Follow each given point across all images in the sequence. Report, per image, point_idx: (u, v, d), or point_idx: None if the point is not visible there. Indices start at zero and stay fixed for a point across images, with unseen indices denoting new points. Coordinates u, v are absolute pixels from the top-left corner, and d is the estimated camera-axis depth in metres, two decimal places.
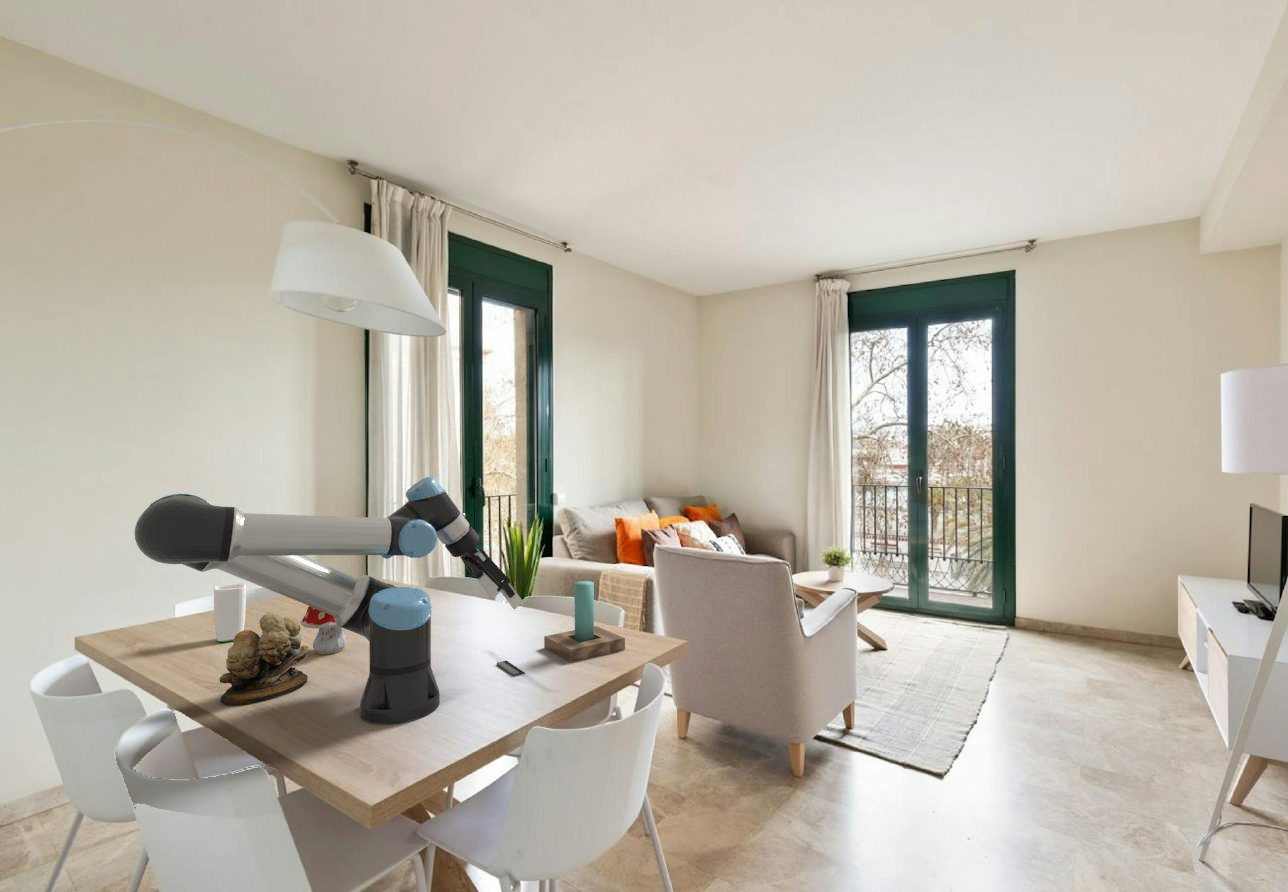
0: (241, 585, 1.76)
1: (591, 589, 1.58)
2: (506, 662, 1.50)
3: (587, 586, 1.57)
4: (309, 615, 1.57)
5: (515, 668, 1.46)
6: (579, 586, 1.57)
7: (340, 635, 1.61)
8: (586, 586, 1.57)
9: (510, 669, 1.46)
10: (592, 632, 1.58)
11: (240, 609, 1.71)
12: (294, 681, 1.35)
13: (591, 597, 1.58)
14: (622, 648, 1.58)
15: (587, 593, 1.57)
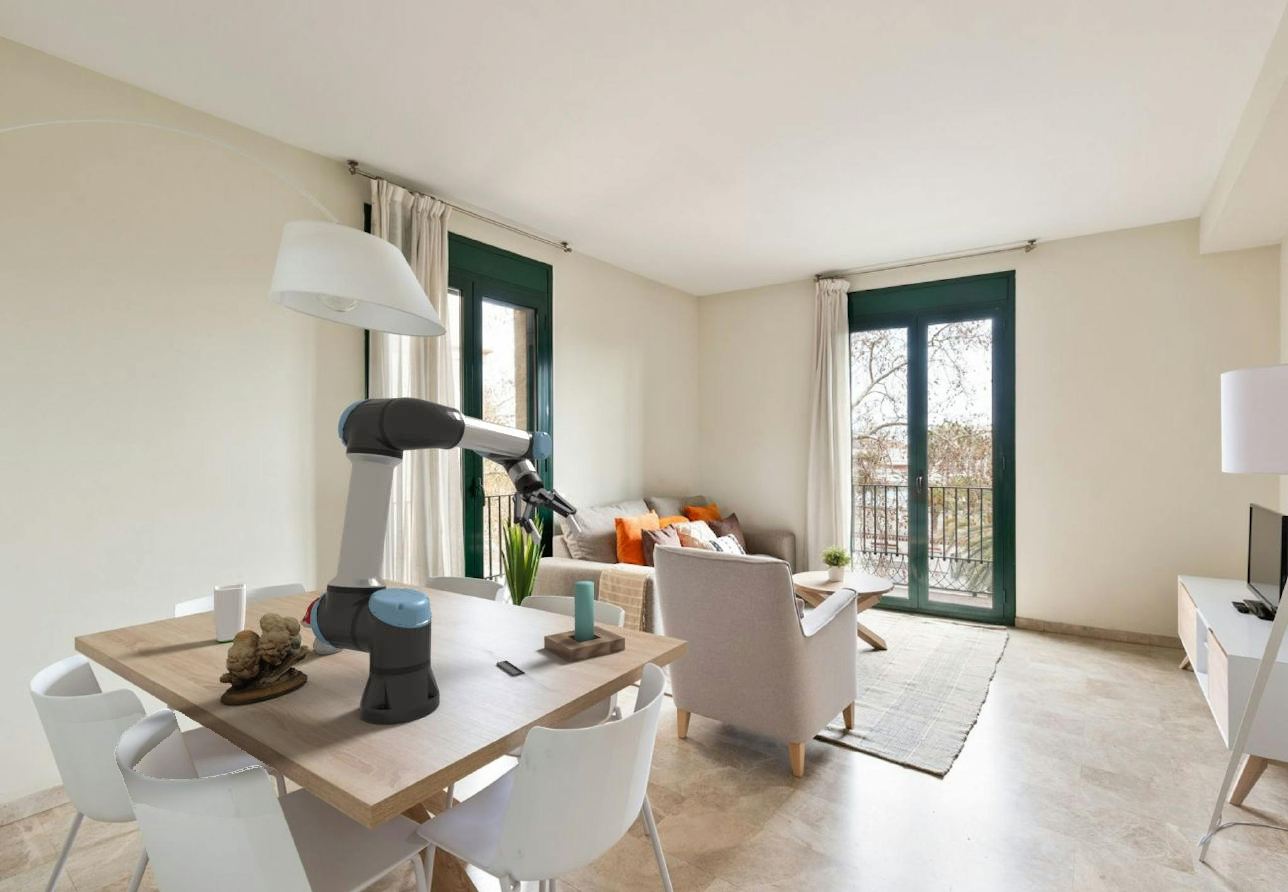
0: (241, 585, 1.76)
1: (591, 589, 1.58)
2: (506, 662, 1.50)
3: (587, 586, 1.57)
4: (309, 615, 1.57)
5: (515, 668, 1.46)
6: (579, 586, 1.57)
7: None
8: (586, 586, 1.57)
9: (510, 669, 1.46)
10: (592, 632, 1.58)
11: (240, 609, 1.71)
12: (294, 681, 1.35)
13: (591, 597, 1.58)
14: (622, 648, 1.58)
15: (587, 593, 1.57)
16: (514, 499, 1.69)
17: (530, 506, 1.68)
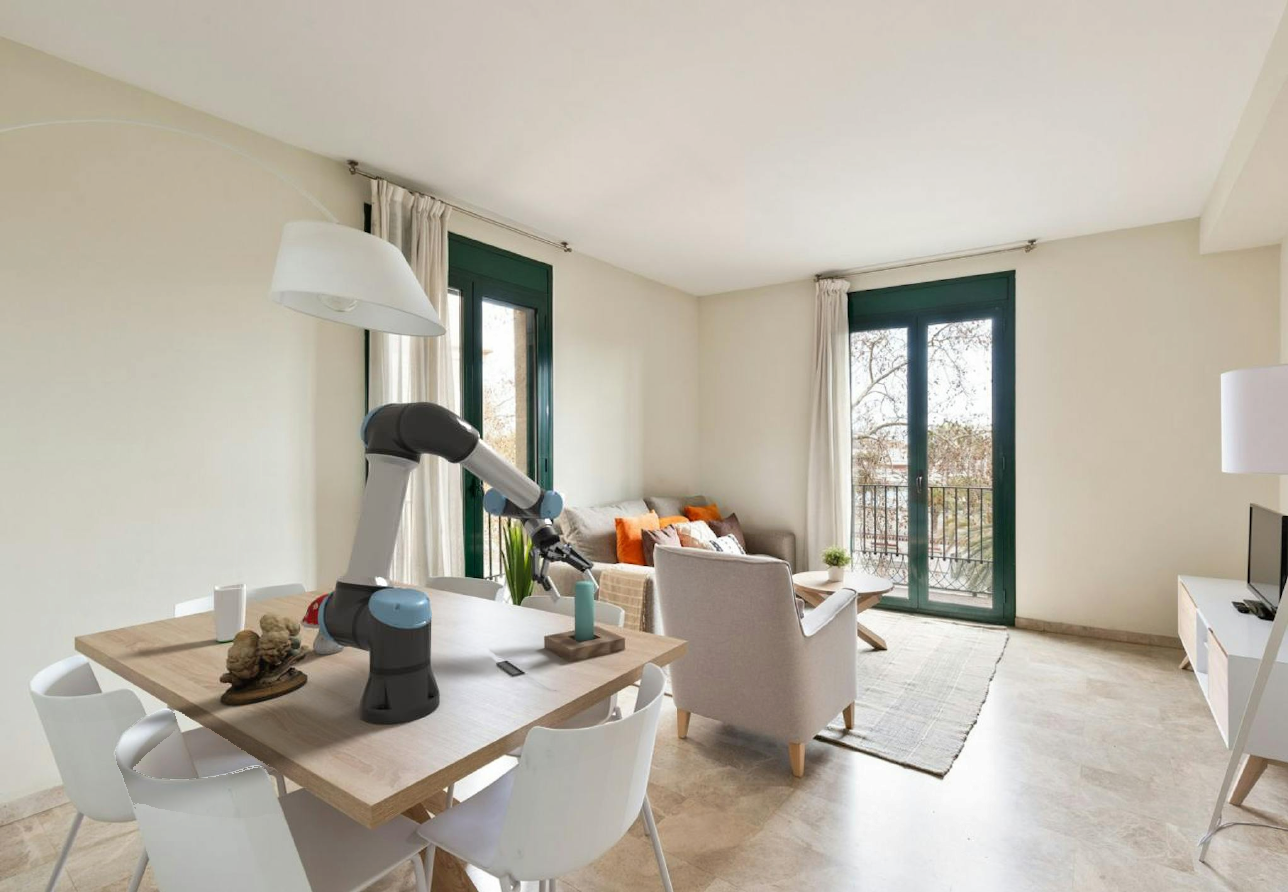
0: (241, 585, 1.76)
1: (591, 589, 1.58)
2: (506, 662, 1.50)
3: (587, 586, 1.57)
4: (309, 615, 1.57)
5: (515, 668, 1.46)
6: (579, 586, 1.57)
7: None
8: (586, 586, 1.57)
9: (510, 669, 1.46)
10: (592, 632, 1.58)
11: (240, 609, 1.71)
12: (294, 681, 1.35)
13: (591, 597, 1.58)
14: (622, 648, 1.58)
15: (587, 593, 1.57)
16: (531, 554, 1.66)
17: (548, 562, 1.65)
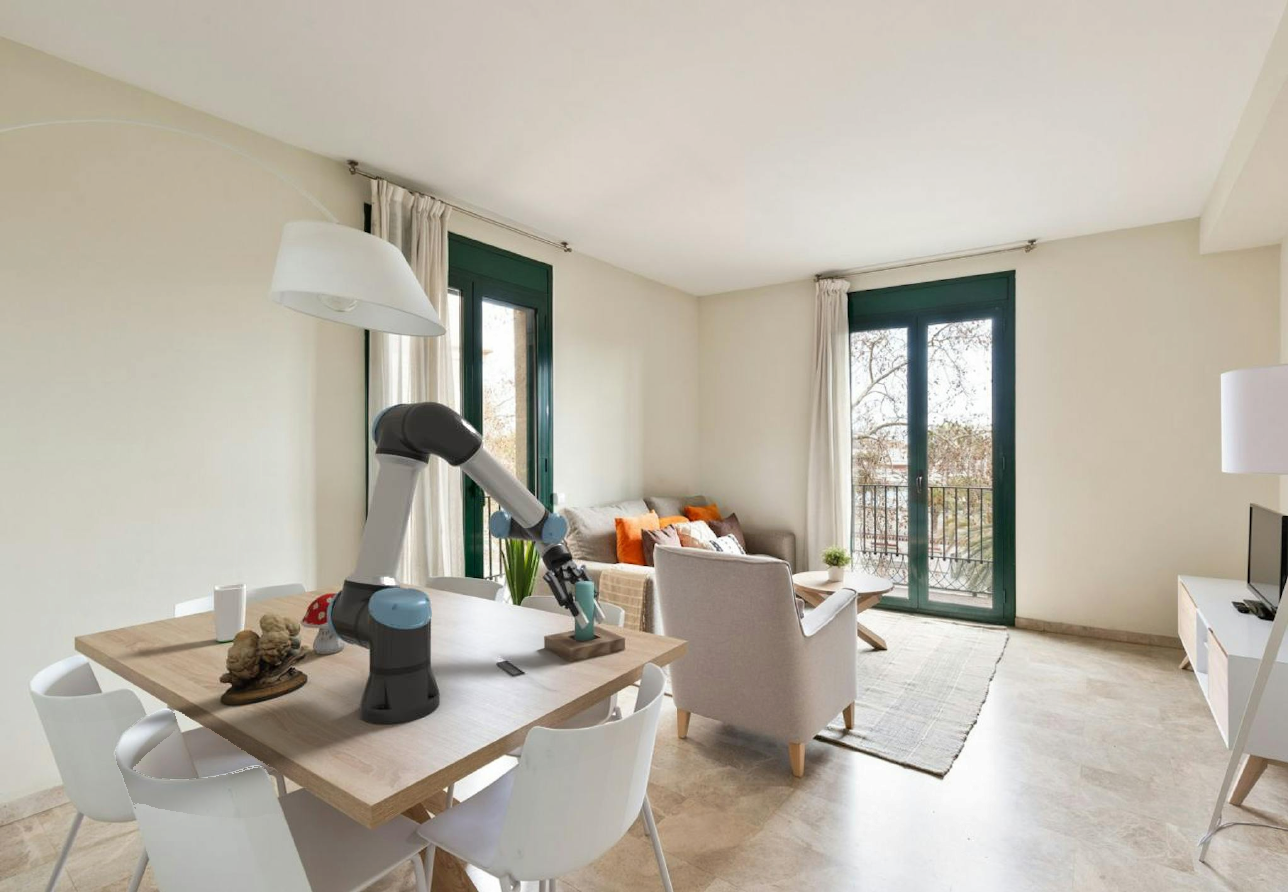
0: (241, 585, 1.76)
1: (591, 589, 1.58)
2: (506, 662, 1.50)
3: (587, 586, 1.57)
4: (309, 615, 1.57)
5: (515, 668, 1.46)
6: (579, 586, 1.57)
7: None
8: (586, 586, 1.57)
9: (510, 669, 1.46)
10: (592, 632, 1.58)
11: (240, 609, 1.71)
12: (294, 681, 1.35)
13: (591, 597, 1.58)
14: (622, 648, 1.58)
15: (587, 593, 1.57)
16: (547, 579, 1.60)
17: (567, 584, 1.60)
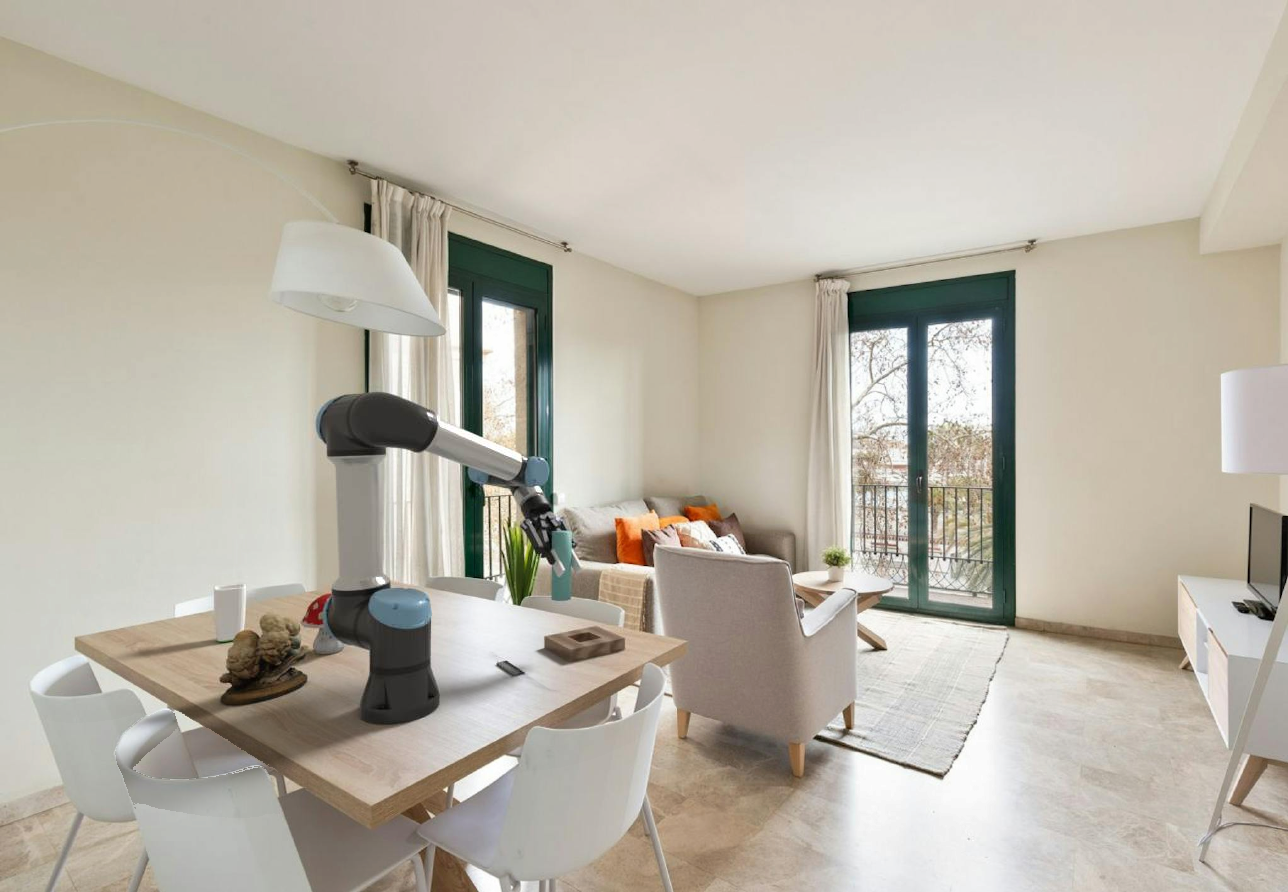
0: (241, 585, 1.76)
1: (569, 537, 1.55)
2: (506, 662, 1.50)
3: (564, 534, 1.54)
4: (309, 615, 1.57)
5: (515, 668, 1.46)
6: (556, 534, 1.54)
7: None
8: (563, 534, 1.54)
9: (510, 669, 1.46)
10: (569, 581, 1.55)
11: (240, 609, 1.71)
12: (294, 681, 1.35)
13: (568, 546, 1.55)
14: (622, 648, 1.58)
15: (564, 541, 1.54)
16: (524, 527, 1.57)
17: (545, 533, 1.57)
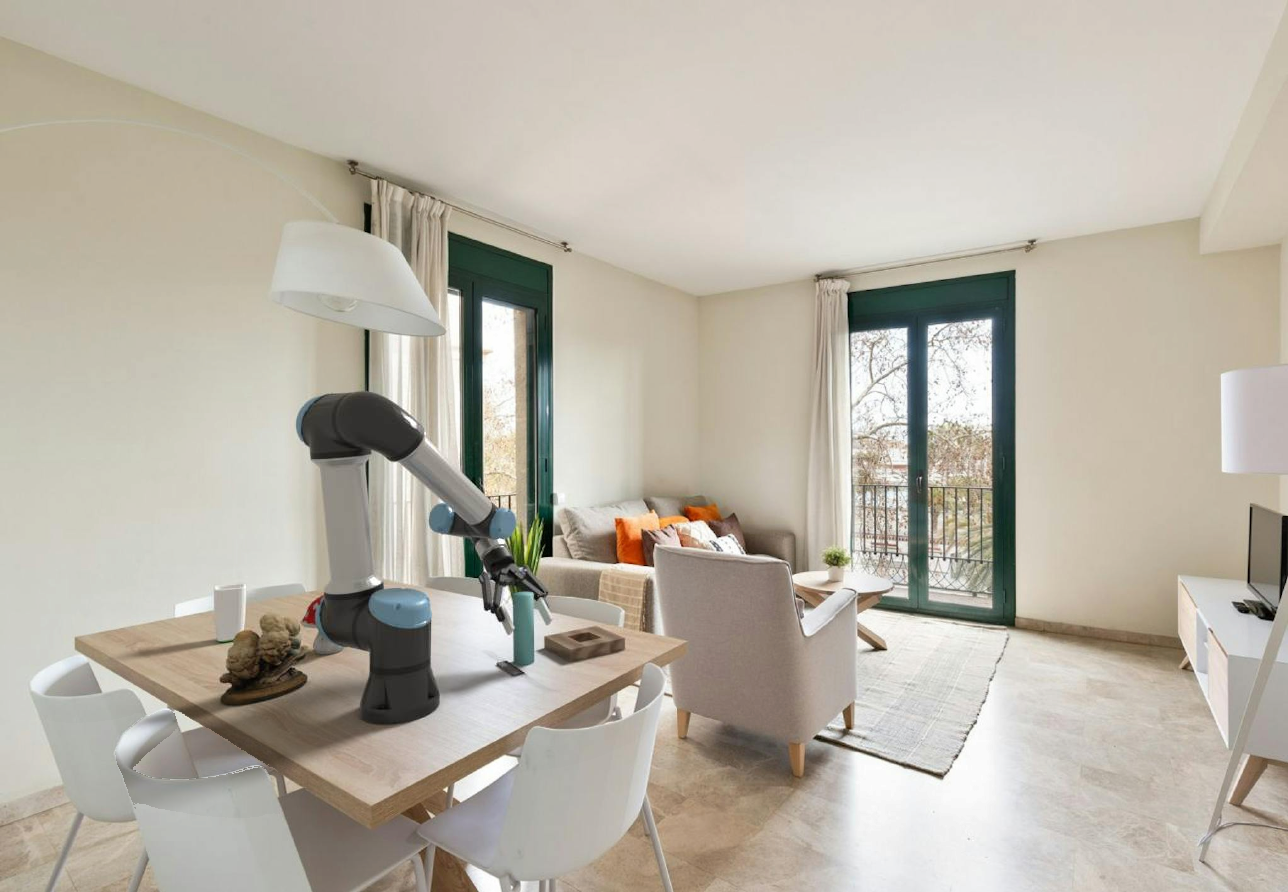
0: (241, 585, 1.76)
1: (530, 600, 1.48)
2: (506, 662, 1.50)
3: (525, 597, 1.47)
4: (309, 615, 1.57)
5: (515, 668, 1.46)
6: (517, 597, 1.47)
7: None
8: (524, 597, 1.47)
9: (510, 669, 1.46)
10: (532, 646, 1.48)
11: (240, 609, 1.71)
12: (294, 681, 1.35)
13: (530, 609, 1.48)
14: (622, 648, 1.58)
15: (525, 604, 1.47)
16: (481, 580, 1.50)
17: (501, 588, 1.50)
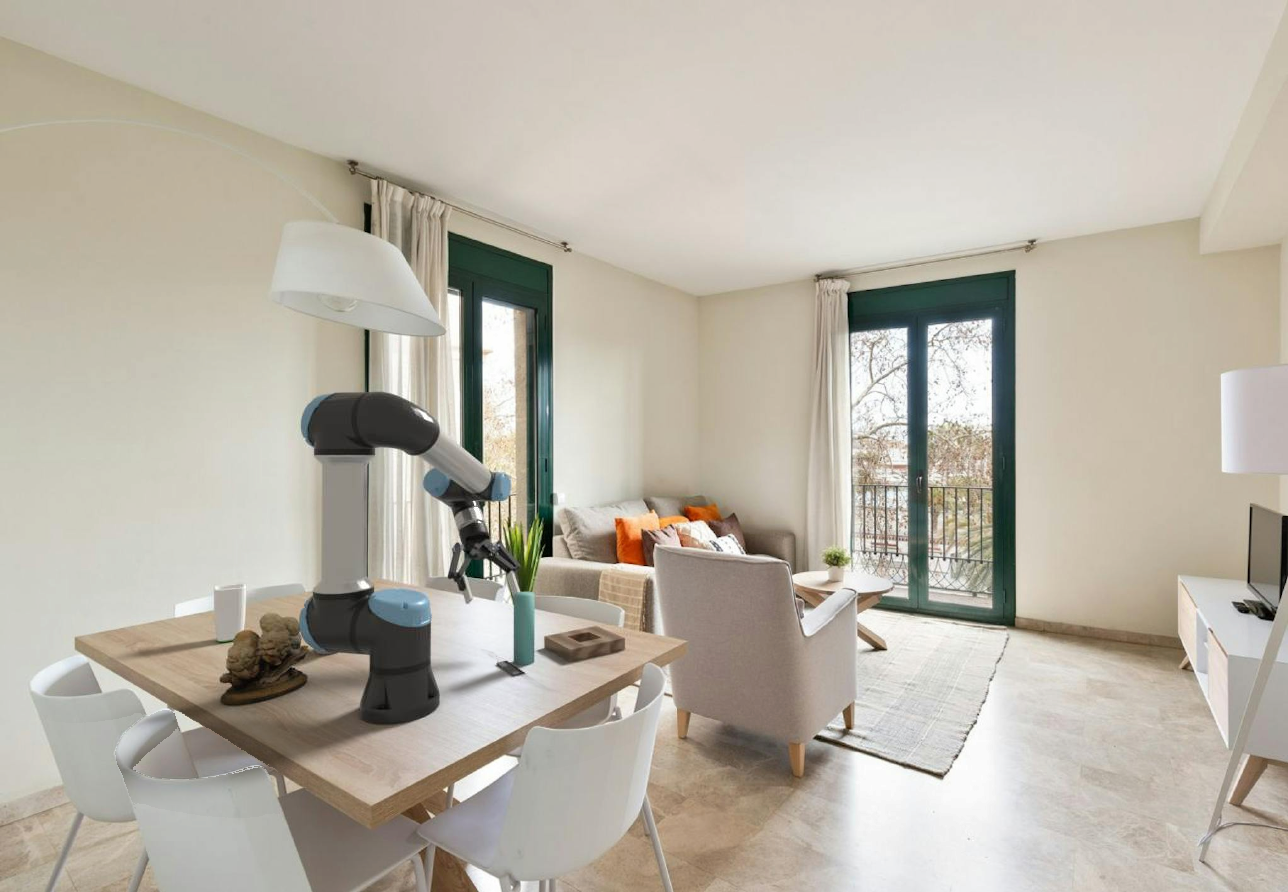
0: (241, 585, 1.76)
1: (531, 600, 1.48)
2: (506, 662, 1.50)
3: (526, 597, 1.47)
4: None
5: (515, 668, 1.46)
6: (518, 597, 1.47)
7: None
8: (525, 597, 1.47)
9: (510, 669, 1.46)
10: (532, 646, 1.48)
11: (240, 609, 1.71)
12: (294, 681, 1.35)
13: (531, 609, 1.48)
14: (622, 648, 1.58)
15: (526, 604, 1.47)
16: (453, 550, 1.60)
17: (469, 560, 1.59)
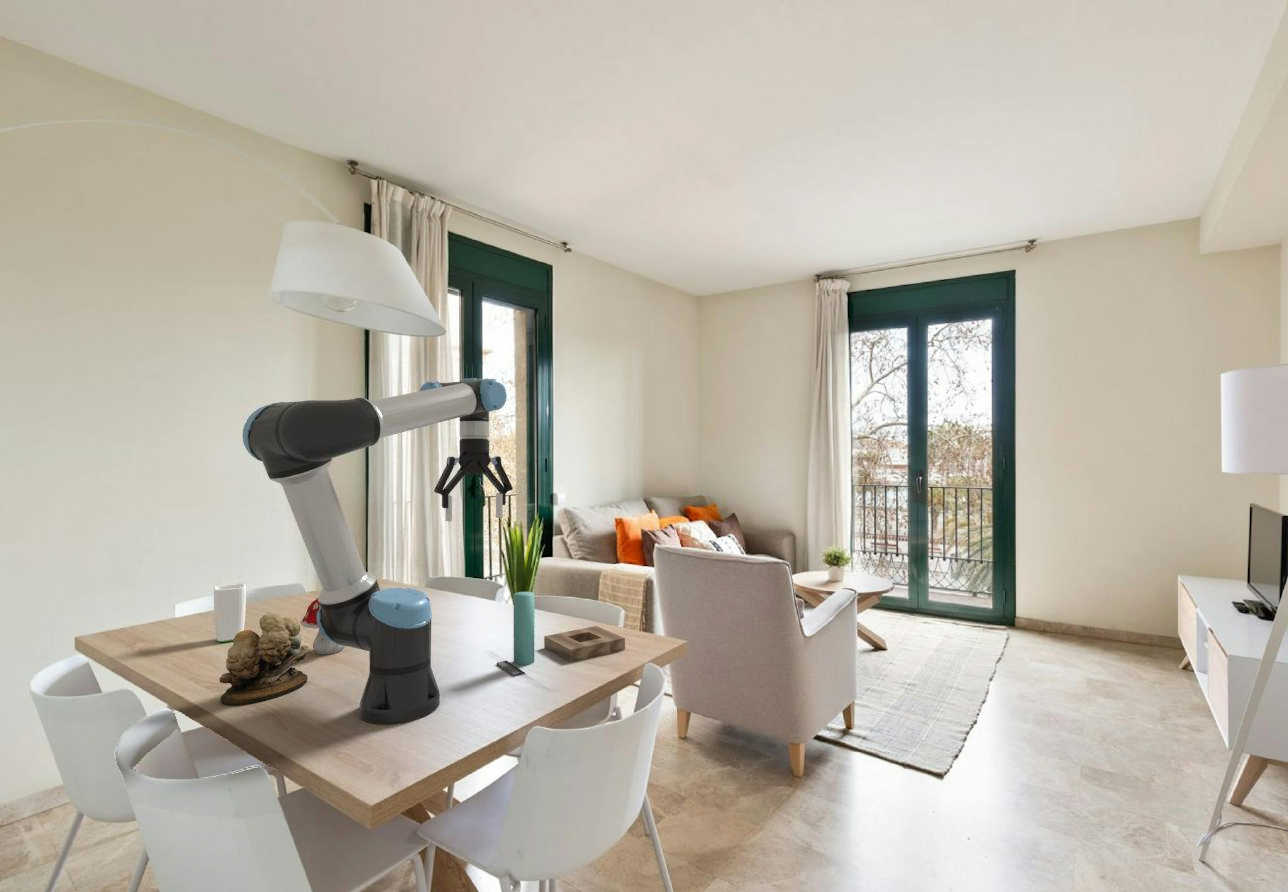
0: (241, 585, 1.76)
1: (531, 601, 1.48)
2: (506, 662, 1.50)
3: (526, 597, 1.47)
4: (309, 615, 1.57)
5: (515, 668, 1.46)
6: (518, 597, 1.47)
7: None
8: (525, 597, 1.47)
9: (510, 669, 1.46)
10: (532, 646, 1.48)
11: (240, 609, 1.71)
12: (294, 681, 1.35)
13: (530, 609, 1.48)
14: (622, 648, 1.58)
15: (526, 605, 1.47)
16: (448, 462, 1.56)
17: (459, 478, 1.57)
